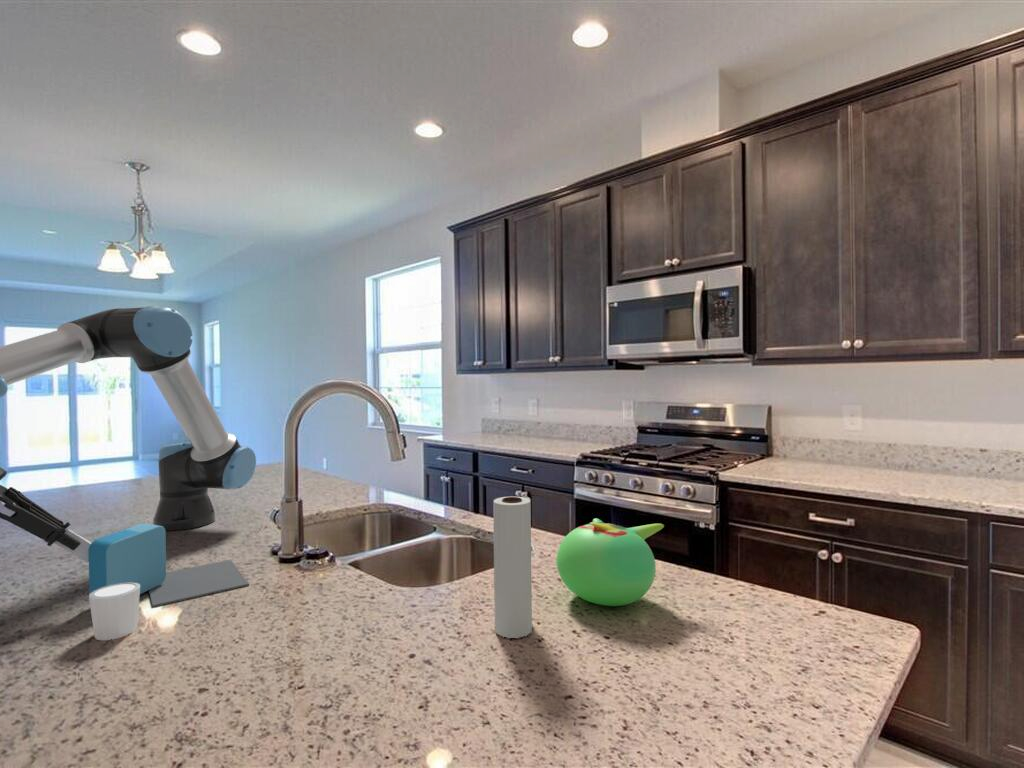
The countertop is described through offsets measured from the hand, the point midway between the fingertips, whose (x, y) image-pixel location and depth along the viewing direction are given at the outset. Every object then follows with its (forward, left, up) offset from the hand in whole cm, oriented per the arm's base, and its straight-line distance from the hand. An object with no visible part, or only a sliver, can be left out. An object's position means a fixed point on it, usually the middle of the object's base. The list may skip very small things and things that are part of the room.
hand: (94, 555), depth 100 cm
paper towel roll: (-18, +76, -9) cm, 79 cm away
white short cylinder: (+6, +15, -9) cm, 19 cm away
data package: (-5, +2, -9) cm, 10 cm away
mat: (-14, +8, -9) cm, 19 cm away
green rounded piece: (-35, +87, -9) cm, 95 cm away
